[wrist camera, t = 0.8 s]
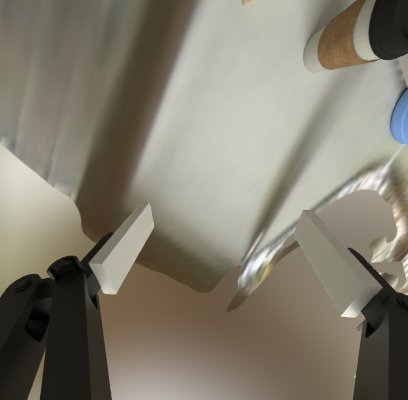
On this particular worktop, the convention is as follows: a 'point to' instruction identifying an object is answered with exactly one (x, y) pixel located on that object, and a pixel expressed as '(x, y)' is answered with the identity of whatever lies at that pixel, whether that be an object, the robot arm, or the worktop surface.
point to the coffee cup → (360, 36)
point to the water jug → (400, 120)
